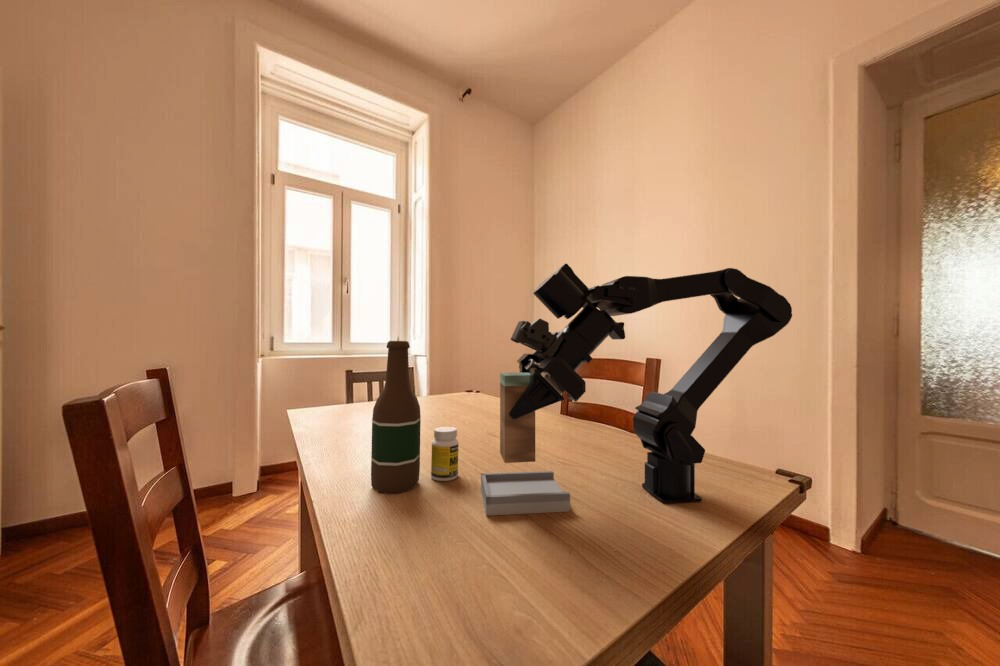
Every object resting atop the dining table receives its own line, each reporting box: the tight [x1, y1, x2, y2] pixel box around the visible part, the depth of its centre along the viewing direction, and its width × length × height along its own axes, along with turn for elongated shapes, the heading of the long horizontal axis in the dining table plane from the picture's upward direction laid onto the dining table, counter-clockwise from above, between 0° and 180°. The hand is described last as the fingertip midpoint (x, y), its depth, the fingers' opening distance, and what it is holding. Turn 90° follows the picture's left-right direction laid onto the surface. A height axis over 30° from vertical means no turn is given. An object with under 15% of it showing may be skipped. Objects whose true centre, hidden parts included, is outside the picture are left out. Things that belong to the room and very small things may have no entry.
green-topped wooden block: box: [499, 372, 536, 464], centre depth 54 cm, size 4×4×12 cm
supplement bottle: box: [430, 426, 459, 482], centre depth 64 cm, size 5×5×8 cm
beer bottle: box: [370, 340, 422, 495], centre depth 60 cm, size 8×8×24 cm
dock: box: [480, 470, 571, 516], centre depth 55 cm, size 12×9×2 cm
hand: (508, 413), depth 54 cm, fingers closed on green-topped wooden block, 4 cm apart
